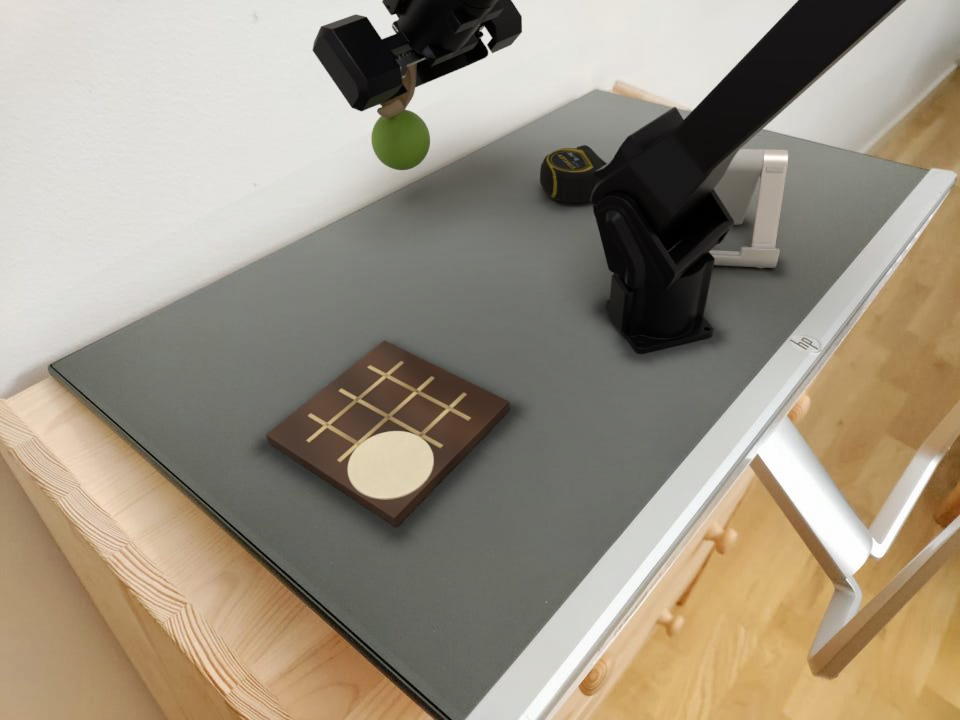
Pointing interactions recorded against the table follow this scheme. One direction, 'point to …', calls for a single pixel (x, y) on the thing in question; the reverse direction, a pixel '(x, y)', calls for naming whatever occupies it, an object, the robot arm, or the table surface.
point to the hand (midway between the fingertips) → (387, 93)
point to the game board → (388, 421)
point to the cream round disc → (390, 465)
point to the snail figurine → (401, 130)
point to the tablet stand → (737, 197)
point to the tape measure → (570, 174)
